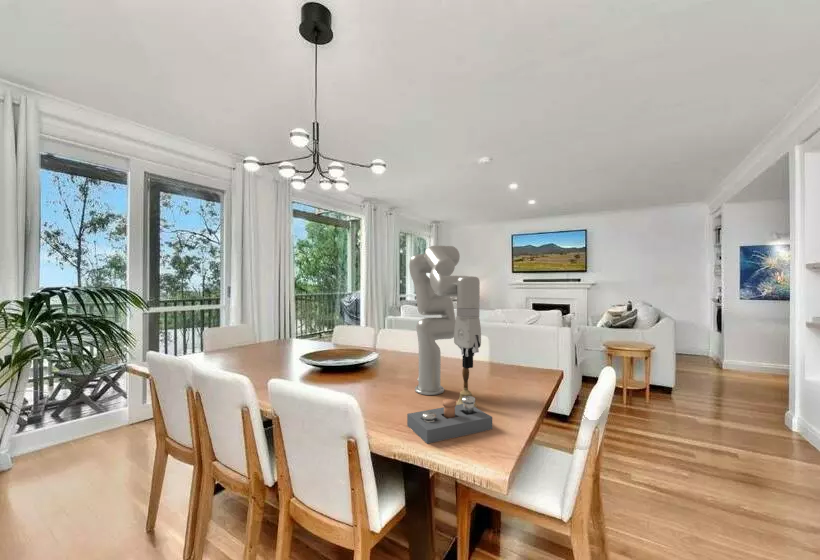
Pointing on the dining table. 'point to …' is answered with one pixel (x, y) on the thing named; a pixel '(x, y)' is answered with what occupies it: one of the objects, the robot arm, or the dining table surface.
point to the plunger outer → (429, 416)
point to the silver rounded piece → (468, 405)
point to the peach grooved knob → (449, 408)
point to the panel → (448, 424)
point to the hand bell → (465, 387)
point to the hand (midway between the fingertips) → (467, 367)
